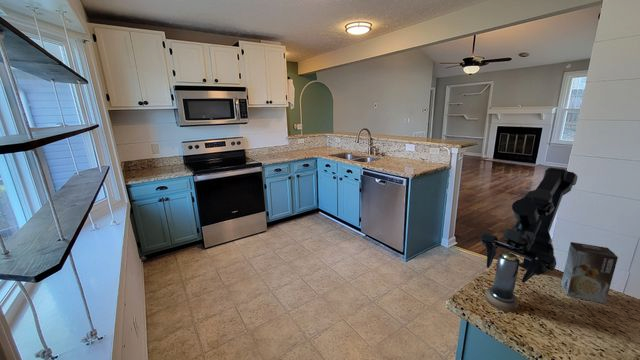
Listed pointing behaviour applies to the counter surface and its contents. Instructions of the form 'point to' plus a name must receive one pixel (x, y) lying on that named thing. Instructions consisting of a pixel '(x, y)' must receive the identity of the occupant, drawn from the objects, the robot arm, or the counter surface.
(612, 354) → the counter surface
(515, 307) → the stand
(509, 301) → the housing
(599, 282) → the coffee box
